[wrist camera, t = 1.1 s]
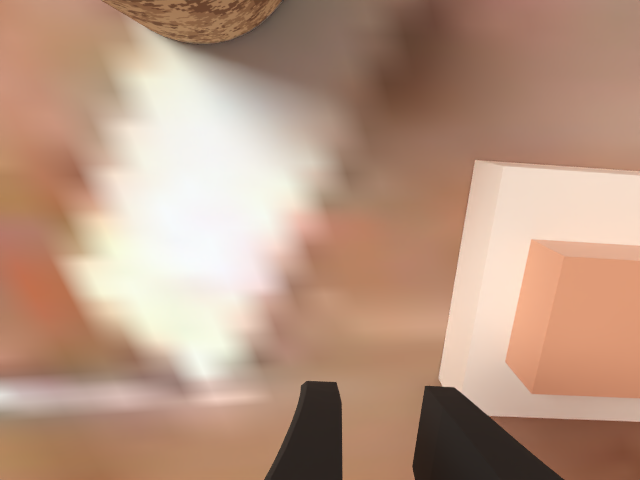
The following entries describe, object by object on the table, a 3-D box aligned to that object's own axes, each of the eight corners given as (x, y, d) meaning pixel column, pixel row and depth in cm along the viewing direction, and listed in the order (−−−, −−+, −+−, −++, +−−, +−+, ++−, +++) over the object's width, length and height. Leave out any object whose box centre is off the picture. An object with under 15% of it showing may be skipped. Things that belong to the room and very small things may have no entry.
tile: (675, 369, 17) (724, 401, 15) (505, 362, 16) (531, 394, 14) (716, 250, 15) (775, 268, 13) (531, 239, 15) (564, 256, 13)
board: (685, 388, 20) (737, 425, 18) (438, 378, 19) (457, 414, 17) (759, 179, 17) (832, 188, 15) (475, 159, 17) (503, 166, 14)
